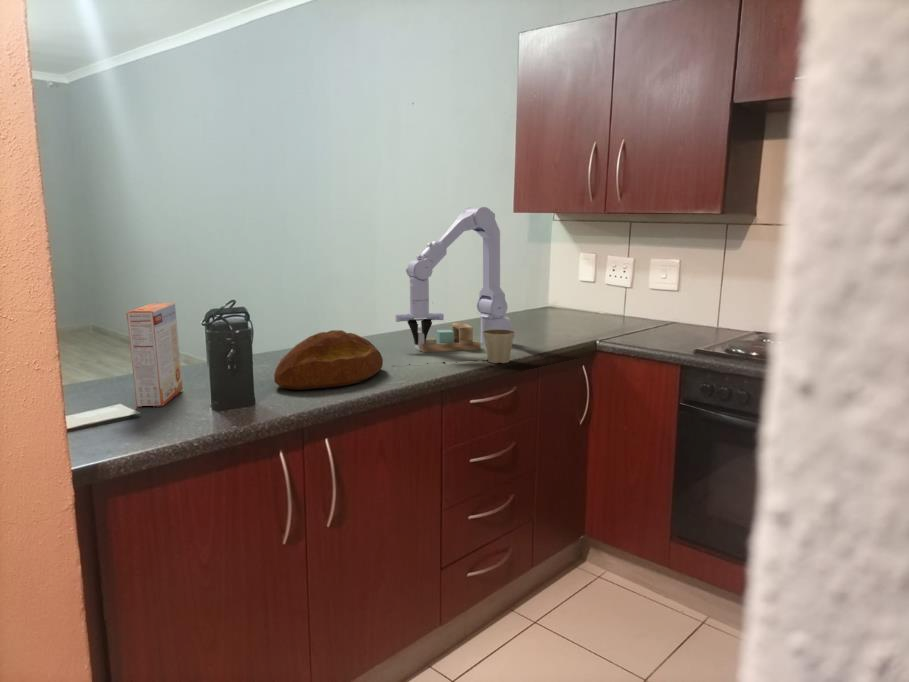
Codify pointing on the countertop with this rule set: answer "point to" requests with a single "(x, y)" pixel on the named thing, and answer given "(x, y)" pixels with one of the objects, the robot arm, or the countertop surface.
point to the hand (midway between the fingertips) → (419, 344)
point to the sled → (420, 340)
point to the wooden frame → (461, 339)
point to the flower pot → (498, 345)
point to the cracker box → (154, 353)
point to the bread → (328, 361)
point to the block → (444, 336)
